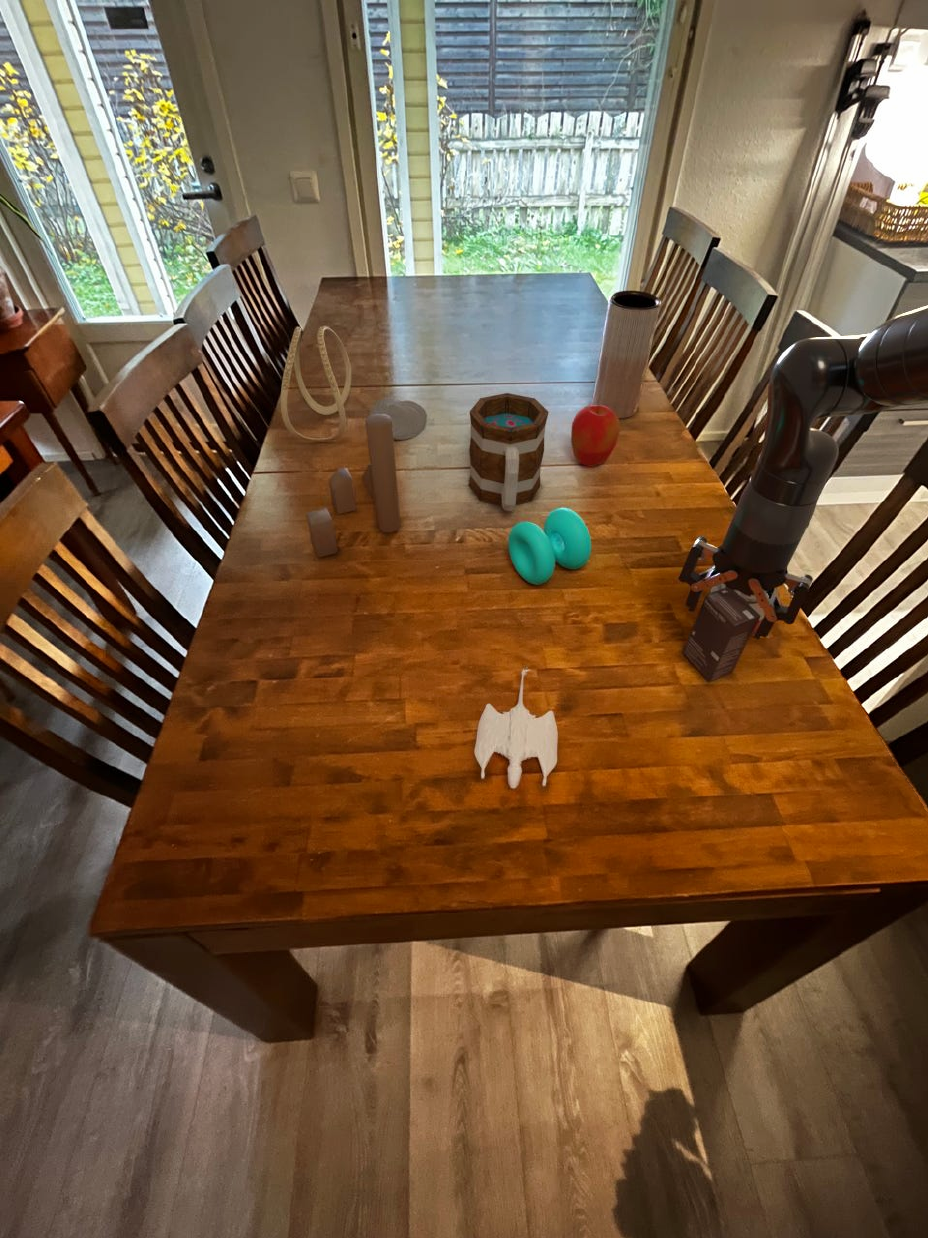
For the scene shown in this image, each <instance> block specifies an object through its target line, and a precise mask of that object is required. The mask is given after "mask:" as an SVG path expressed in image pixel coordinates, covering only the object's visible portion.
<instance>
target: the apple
mask: <svg viewBox="0 0 928 1238" xmlns="http://www.w3.org/2000/svg"><path fill="white" fill-rule="evenodd" d="M619 419H620V418H618V417H617V415H616V414H615V413H614V412H613V411H612V410H611V409H610V408H608V407H607V406H602V405H592V404H589V405H586V406H584V407H583V408H581V409H580V410H578V412H577V413H576V414H575V417H574V418H573V421H572V423H571V436H570V443H571V448H572V452H573V456H574V457H575V459H576V460H577V461H578V462H579V463H580V464H581V465H583V466H587V467H592V466H596V465H598V464H601V463H603V462H606V461H607V460H608V459H609V457H610V455H611V454H612V452H613V450H614V449H615V447H616V445H617V442H618V439H619V436H620V434H621V433H620V432H621V427H620V420H619Z"/></svg>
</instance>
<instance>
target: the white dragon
mask: <svg viewBox="0 0 928 1238" xmlns="http://www.w3.org/2000/svg"><path fill="white" fill-rule="evenodd" d="M527 668H528V667H526V668H525V665H524V667H523V669H522V670H521V673H520V675H521V681H520V687H519V695H518V701H517V703H516V705H515V706H514V707H511V708H510V710H509V711H502V712H499V711H497V709H495V707H493V705H492V704H491V703H487V704H486V705H485V707H484V709H483V711H482V713H481V716H480V718H479V721H478V724H477V730H476V739H475V744H474V750H473V753H474V756H475V759H476V761H477V763H478V764H479V766H480V768H481V772H480V778H481V779H482V780H484V779H485V776H486V773H485V769H486V767H487V766H488V763H489V762H490V760H491V758H492V756H493V755H494V753H497V754H498V755H499V754H500V755H502V756H503V757H505V759H507V760H508V763H509V765H508V767H507V784H508V786H509V787H510V789H516V788H517V787H518V786H519V784H520V781H521V779H522V778H521V777H522V774H523V769H522V768H523V767H522V763H523V761H526V760H530V759H531V758H537V760H538V763H539V765H540V769H541V771H542V775H543V778H542V787H546V785H547V777H548V776H549V774H550V773H551V772H552V771H553V769H554V768H555V767H556V766H557V762H558V744H559V743H558V740H559V732H558V726H557V722H556V717H555V714H554V711H552V710H549V711H547V712H546V713H545V714H543V715H541V716H539V717H536V714H532V713H530V710H529V709H528V708H526V707H525V705H524V703H523V699H524V677H525V676H526V675H528V672H530V671H532V669H527Z"/></svg>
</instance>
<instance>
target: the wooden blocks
mask: <svg viewBox="0 0 928 1238" xmlns="http://www.w3.org/2000/svg"><path fill="white" fill-rule="evenodd" d="M364 422H365V429H366V439H367V447H368V456H369V463H368V464H367V466H366V468H365V470H364V471H363V474H362V476H361V479H362V481H363V483H364V485H365V486H366V488H367V491H368V492H369V494H370V496H371V498H372V499H374V508H375V518H376V524H377V529H378V530H379V531H380V532H382V533H394V532H396V531H398V530H399V529H400V527H401V515H400V504H399V503H400V502H399V491H398V478H397V477H398V476H397V466H396V454H395V440H393V428H392V419H391V417H390V416H388V415H386V414H373V415H370V414H369V415H368V416H367V417H366V419H365V421H364ZM328 485H329V491H330V497H331V502H332V505H333V509H334V510H335V512H336V514H337V515H342V514H346V513H351V512H355V511H356V510H357V504H356V499H355V492H354V484H353V478H352V475H351V473H350V472H349V470H348V468H347V467H343V468H338V469H336V470H335V471H334V472H333V474H332V475H331V477H330V478H329V479H328ZM328 510H329V509H328V508H321V509H317V510H312V511H309V512H308V511H307V512H306V514H305V516H306V521H307V526H308V530H309V534H310V539H311V544H312V548H313V550H314V552H315V554H316V557H317V558H323V557H327V556H328V557H329V556H331V555H335V554H337V553H338V552H339V551H338V543H337V539H336V533H335V532H336V531H335V528H334V527H335V526H334V521H333V517H332V516H331V514H330V513H329V511H328Z"/></svg>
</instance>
